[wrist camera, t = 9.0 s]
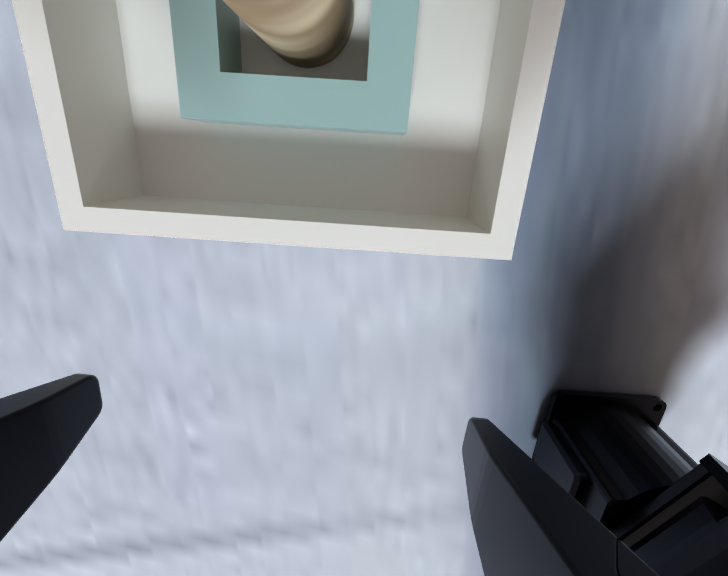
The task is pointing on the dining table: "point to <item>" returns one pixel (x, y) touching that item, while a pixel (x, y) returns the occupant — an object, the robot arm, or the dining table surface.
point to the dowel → (299, 27)
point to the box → (293, 123)
